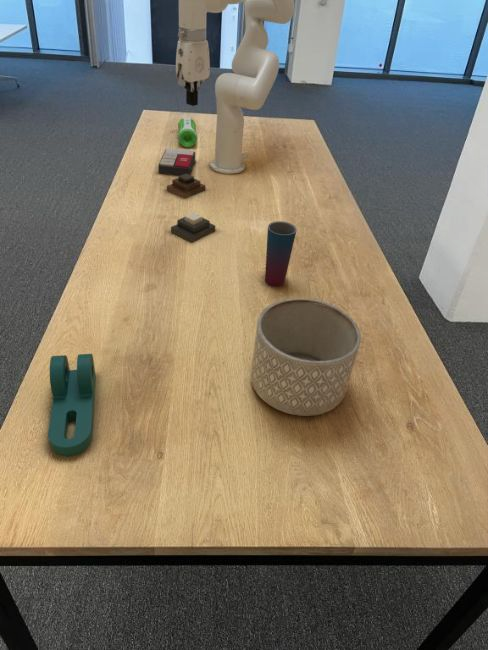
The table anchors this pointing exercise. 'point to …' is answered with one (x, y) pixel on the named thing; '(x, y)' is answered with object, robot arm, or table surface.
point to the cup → (278, 251)
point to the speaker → (187, 132)
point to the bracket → (72, 403)
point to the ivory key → (193, 218)
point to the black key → (186, 178)
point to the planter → (303, 355)
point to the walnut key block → (185, 188)
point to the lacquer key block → (192, 229)
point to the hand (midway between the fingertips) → (191, 104)
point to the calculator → (176, 162)
